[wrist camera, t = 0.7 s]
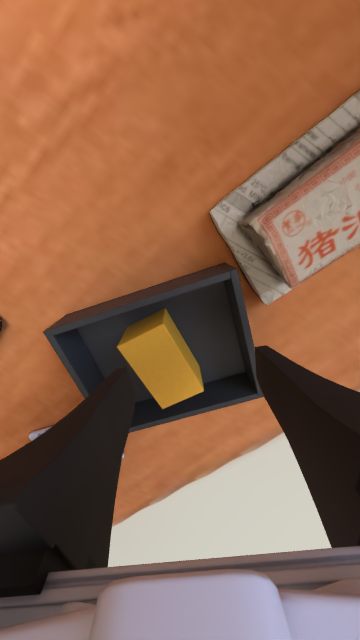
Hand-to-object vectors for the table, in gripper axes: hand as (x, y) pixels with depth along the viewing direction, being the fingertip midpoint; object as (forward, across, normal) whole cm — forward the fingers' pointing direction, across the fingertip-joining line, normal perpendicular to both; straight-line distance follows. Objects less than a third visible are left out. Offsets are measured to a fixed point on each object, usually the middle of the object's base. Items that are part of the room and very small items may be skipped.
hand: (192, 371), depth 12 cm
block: (+9, +3, +4) cm, 10 cm away
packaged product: (+11, -13, -8) cm, 19 cm away
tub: (+10, +3, +4) cm, 11 cm away
